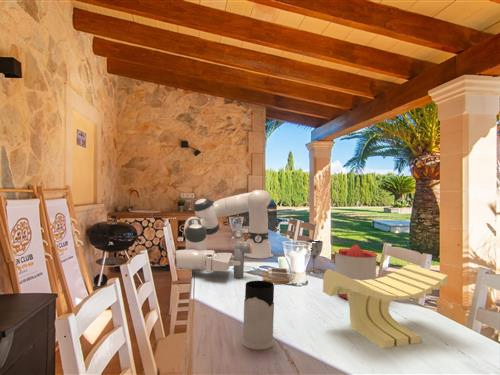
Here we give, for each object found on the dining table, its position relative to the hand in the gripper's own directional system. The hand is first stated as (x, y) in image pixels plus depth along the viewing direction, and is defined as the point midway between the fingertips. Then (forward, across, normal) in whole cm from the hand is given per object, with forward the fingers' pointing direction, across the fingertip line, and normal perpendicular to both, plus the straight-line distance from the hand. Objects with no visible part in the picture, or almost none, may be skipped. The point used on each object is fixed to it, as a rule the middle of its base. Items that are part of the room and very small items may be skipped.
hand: (241, 261), depth 148 cm
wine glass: (+35, -17, -7) cm, 40 cm away
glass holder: (+9, +58, -7) cm, 59 cm away
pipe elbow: (+1, 0, -7) cm, 7 cm away
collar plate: (+17, +1, -7) cm, 19 cm away
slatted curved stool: (+44, +51, -7) cm, 68 cm away
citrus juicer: (+44, +19, -7) cm, 49 cm away
